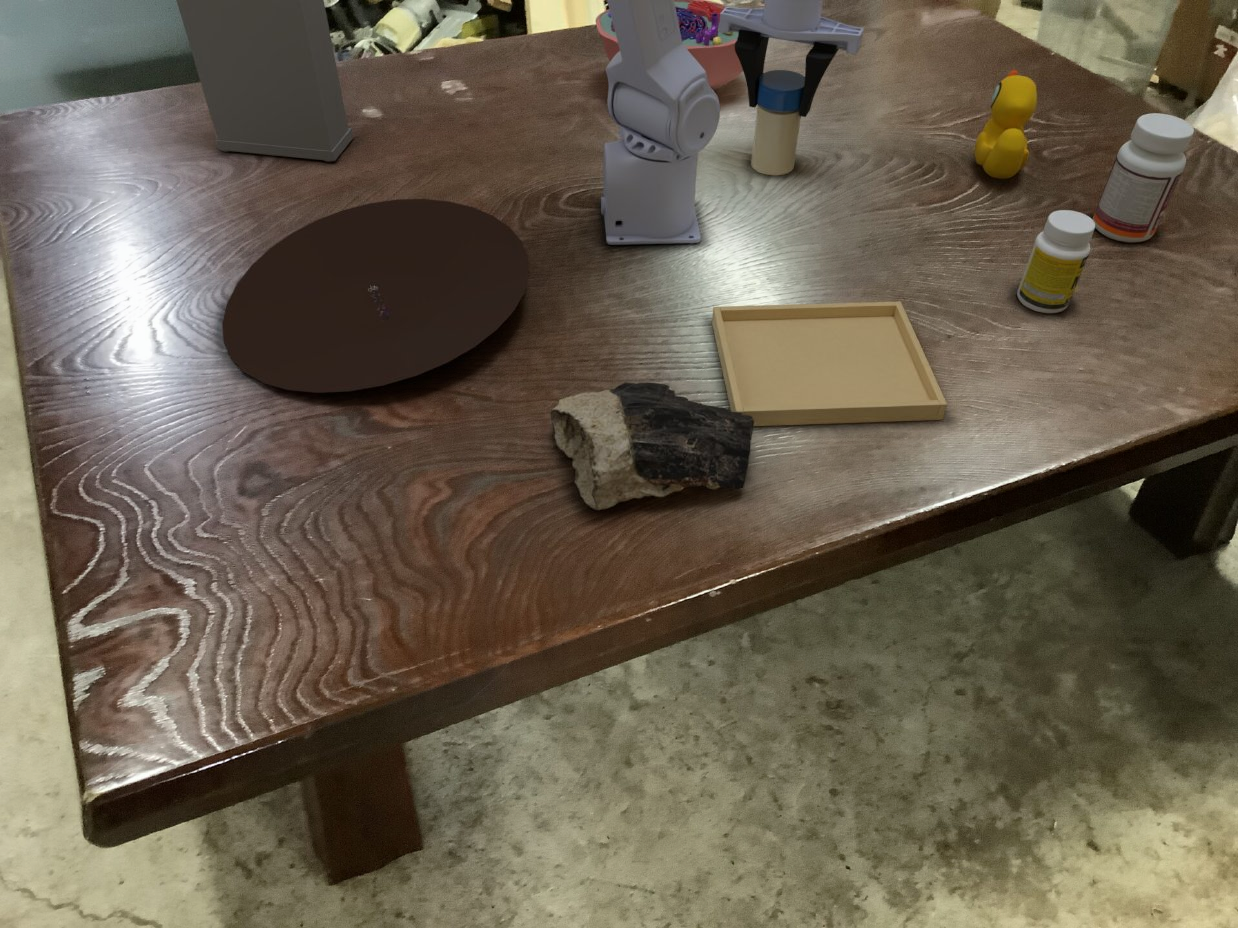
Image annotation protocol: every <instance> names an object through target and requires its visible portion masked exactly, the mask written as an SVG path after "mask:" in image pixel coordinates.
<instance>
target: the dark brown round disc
mask: <svg viewBox="0 0 1238 928" xmlns="http://www.w3.org/2000/svg"><path fill="white" fill-rule="evenodd" d="M529 263H530V261H529V255H528V253H527V251H526V248H525V246H524V244H523V242H522V240H521V238H520V237H519V236H518V235H517V234H516V233H515V232H514V230H513V229H512V228H511V227H510V226H509V225H507V224H506V223H504V222H503V221H502V220H500V219H498V218H497V217H495V216H494V215H492V214H491V213H488V212H485V211H483V210H481V209H478V208H476V207H473V206H469V205H466V204H461V203H457V202H453V201H449V200H441V199H440V200H438V199H428V198H405V199H404V198H403V199H401V198H400V199H399V198H398V199H397V198H396V199H391V200H384V201H383V200H382V201H376V202H369V203H365V204H361V205H358V206H353V207H349V208H346V209H343V210H339V211H336V212H334V213H331V214H329V215H326V216H324V217H321V218H318V219H316V220H314V221H312V222H311V223H308V224H306V225H304V226H303V227H301V228H299V229H296V230H295V231H292V232H291V233H290V234H288V235H287V236H285V237H284V238H282V239H281V240H280V241H278V242H276V243H275V244H274V245H273V246H271V247H270V248H268V249H267V250H266V251H265V252H264V253H263V254H262V255H261V256H260V257H259V258H258V259H257V260H256V261H255V262H253V263H252V264H251V265H250V266H249V268H248V269H247V270H246V271H245V273H244V274H243V275H242V277H241V278H240V279H239V281H238V282H237V283H236V285H235V287H234V289H233V292H231V295H230V297H229V299H228V300H227V303H226V306H225V310H224V315H223V319H222V322H221V324H222V325H221V326H222V340H223V343H224V346H225V348H226V351H227V353H228V355H229V357H230V359H231V360H232V361H233V362H234V363H235V364H236V366H237V367H238V368H239V369H241V371H242V372H243V373H244V374H247V375H248V376H250V377H252V378H253V379H256V380H257V381H259V382H261V383H262V384H265V385H268V386H273V387H276V388H280V389H284V390H287V391H293V392H294V391H295V392H306V393H316V394H321V393H322V394H323V393H340V392H341V393H342V392H353V391H359V390H365V389H371V388H377V387H382V386H386V385H389V384H392V383H397V382H400V381H403V380H406V379H410V378H413V377H417V376H419V375H421V374H423V373H426V372H429V371H431V370H434V369H436V368H438V367H441V366H443V365H445V364H448V363H449V362H452V361H453V360H455V359H456V358H458V357H459V356H461V355H463V354H465V353H467V352H468V351H470V350H472V349H474V348H476V347H477V346H478V345H479V344H480V343H482V342H483V341H484V340H485V339H487V338H488V337H489V336H491V335H492V334H493V333H495V332H496V331H497V330H498V329H499V328H500V327H501V326H502V325H503V324H504V322H506V320H507V319H508V318H509V317H510V316H511V315H512V314H513V312H514V311H515V310H516V308H517V306H518V304H519V303H520V301H521V299H522V298H523V296H524V295H525V291H526V288H527V286H528V285H527V284H528V281H529V276H530V264H529Z"/></svg>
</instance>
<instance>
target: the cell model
mask: <svg viewBox="0 0 1238 928" xmlns="http://www.w3.org/2000/svg"><path fill="white" fill-rule="evenodd" d="M674 3H675V8H676V13H677V18H678V23H679V29H680V34H681V39H682V43H683V45H684V46H685V48H686V49H687V50H688V51H689V52H690V53H691V55H692V56H693V57H694V58H695V59H696V60H697V61H698V63H699V64H700V65H701V66H702V67H703V69H704V70H705V71H706V75H707V80H708V84H709V86H710V88H711V89H712V90H713V91H714V90H716V89H720V88H721V87H723V86H725V85H727V84H728V83H730V82H732V81H733V80H735V79H736V78H737V77H739V76H740V75H741V74H742V73H744V72H743V69H742V66H741V63H740V61H739V58H738V56H737V54H736V52H735V42H736V41H737V38H738V33H739V32H733V31H730V32H729V33H723V32H719V23H720V13H721V12H722V11H723V10H724V9H725V8H726V7H729V6H728V5H726V4H722V3H720V2H715V1H710V0H674ZM595 25H596V29H597V31H598V35H599V38H600V42H601V44H602V47H603V49H604V52H605V54H606V57H607V59H608V61H609V62H610V61H611V60H612V58H613V57H614V56H615V55H616V54H617V53H618V52H619V51H620V49H619V45H618V41H617V37H616V33H615V29H614V25H613V21H612V17H611V14H610V10H609V8H608V9H606V10H604V11H602V12H601V13H599V14H598V15H597V16H596V18H595Z"/></svg>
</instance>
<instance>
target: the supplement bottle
mask: <svg viewBox="0 0 1238 928" xmlns="http://www.w3.org/2000/svg"><path fill="white" fill-rule="evenodd" d="M1095 229H1096V227H1095V223H1094V221H1093V218H1091V217H1090V216H1088V215H1087V214H1085V213H1083V212H1080V211H1076V210H1070V209H1060V210H1055V211H1053V212H1051V213H1050V214H1049V215H1048V217H1047V220H1046V222H1045V224H1044V227H1043V230H1042V231H1041V232H1039V233H1038V234H1037V236H1036V237H1035V241H1034V242H1033V245H1032V248H1031V251H1030V254H1029V257H1028V260H1027V263H1026V265H1025V268H1024V271H1023V274H1022V277H1021V279H1020V282H1019V285H1018V288H1017V291H1016V295H1017V298H1018V300H1019V302H1020V303H1021V304H1022V305H1023V306H1025V307H1026V308H1028V309H1029V310H1032V311H1034V312H1036V313H1037V312H1038V313H1042V314H1043V313H1044V314H1057V313H1061V312H1063V311H1064V310H1066V309H1067V308H1068V307H1069V305H1070V303H1071V301H1072V298H1073V295H1074V293H1075V290H1076V288H1077V285H1078V283H1079V281H1080V278H1081V275H1082V273H1083V270H1084V268H1085V266H1086V263H1087V260H1088V258H1089V255H1090V253H1091V244H1090V242H1091V240H1092V238H1093V234H1094V231H1095Z"/></svg>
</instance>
